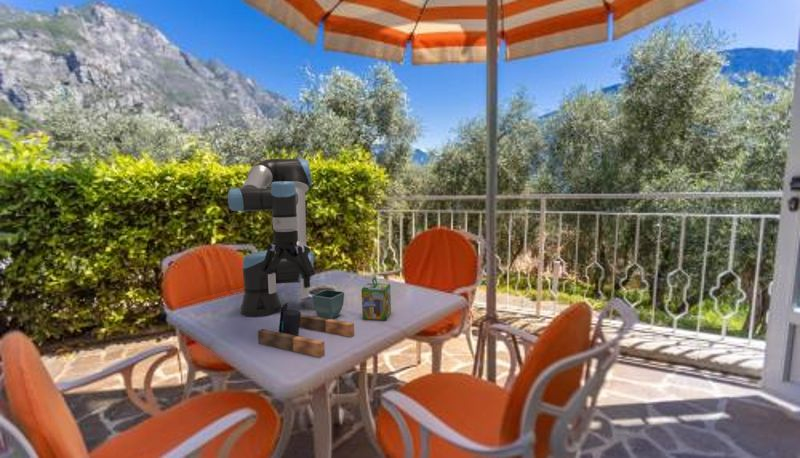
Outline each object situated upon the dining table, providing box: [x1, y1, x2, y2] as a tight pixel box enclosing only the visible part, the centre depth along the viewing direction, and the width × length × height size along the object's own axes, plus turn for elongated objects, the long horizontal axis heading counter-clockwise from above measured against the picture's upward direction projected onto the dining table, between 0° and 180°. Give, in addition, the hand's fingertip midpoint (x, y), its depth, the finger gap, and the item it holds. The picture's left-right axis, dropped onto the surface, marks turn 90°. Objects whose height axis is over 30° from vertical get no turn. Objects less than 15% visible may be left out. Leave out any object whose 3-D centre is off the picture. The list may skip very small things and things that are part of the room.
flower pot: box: [311, 289, 345, 320], centre depth 146 cm, size 9×9×9 cm
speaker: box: [278, 302, 302, 336], centre depth 128 cm, size 8×6×10 cm
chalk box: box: [361, 275, 392, 321], centre depth 145 cm, size 9×9×15 cm
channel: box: [257, 313, 355, 358], centre depth 125 cm, size 24×18×4 cm
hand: (288, 295), depth 127 cm, fingers open, 13 cm apart
